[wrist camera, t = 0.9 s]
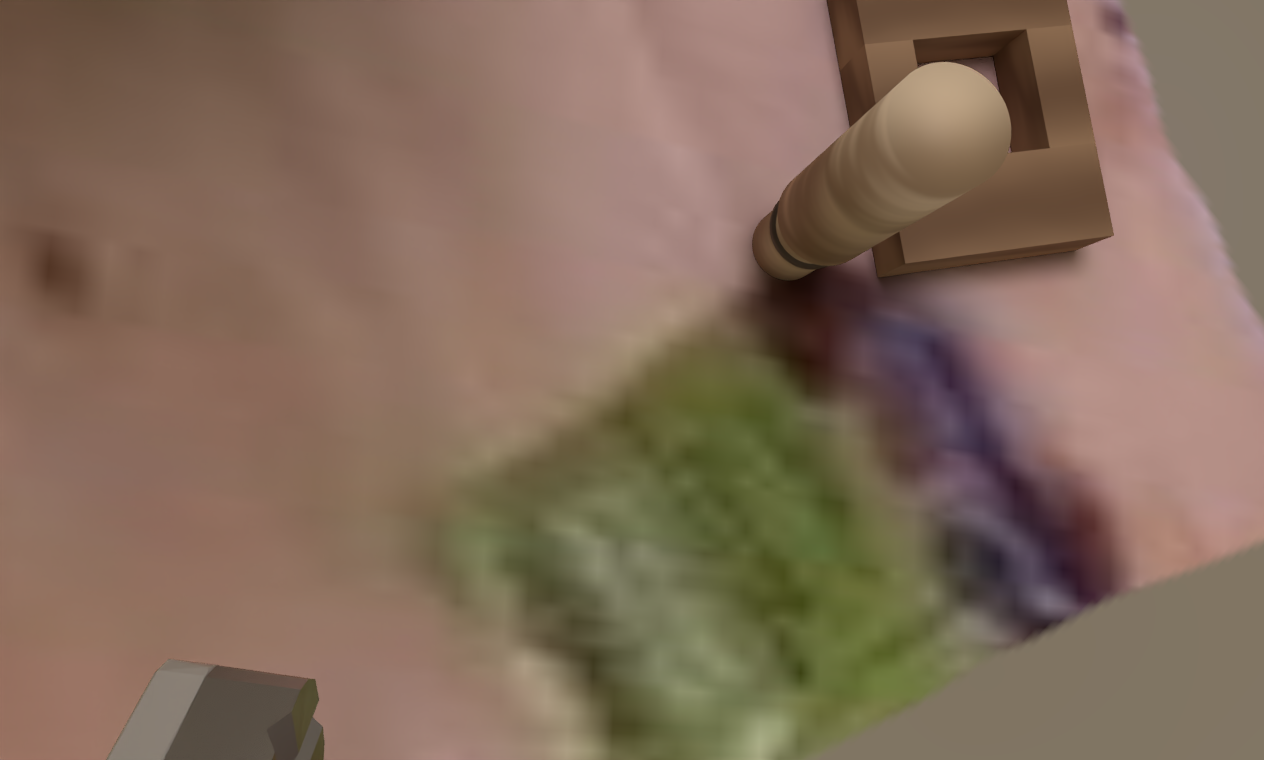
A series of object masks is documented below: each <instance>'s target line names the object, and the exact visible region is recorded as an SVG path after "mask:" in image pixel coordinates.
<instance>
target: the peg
mask: <svg viewBox="0 0 1264 760" xmlns="http://www.w3.org/2000/svg"><path fill="white" fill-rule="evenodd" d="M1010 142H1011V122H1010V117H1009V113H1008V109H1007V107H1006V104H1005V102H1004V100H1003V98H1002V96H1001V95H1000V93H999V92H998V90H997V89H996V88H995V87H994V85H993V84H992V83H991V82H990V81H989V80H988V79H986V78H985V77H984V76H983V75H981V74H980V73H979V72H977V71H975V70H973V69H971V68H969V67H967V66H964V65H961V64H957V63H951V62H936V63H930V64H927V65H924V66H922V67H920V68H918V69H916V70H914V71H913V72H911V73H910V74H909V75H907V76H906V77H905V78H904V79H903V80H902V81H901V82H900V83H899V84H898V85H896V86H895V87H894V88H893V89H892V90H891V91H890V92H889V93H888V94H887V95H885V96H884V97H883V98H882V99H881V100H880V101H879V102H878V103H877V104H876V105H874V106H873V107H872V108H871V109H870V110H869V111H868V112H867V113H866V114H865V115H863V116H862V117H861V118H860V119H859V120H858V121H857V122H856V123H855V124H854V125H852V126H851V127H850V128H849V129H848V130H847V131H846V132H845V133H844V134H843V135H841V136H840V137H839V138H838V139H837V140H836V141H835V142H834V143H833V144H832V145H830V146H829V147H828V148H827V149H826V150H825V151H824V152H823V153H822V154H821V155H819V156H818V157H817V158H816V159H815V160H814V161H813V162H812V163H811V164H810V165H809V166H807V167H806V168H805V169H804V170H803V171H802V172H801V173H800V174H799V175H798V176H796V177H795V178H794V179H793V180H792V181H791V182H790V183H789V184H788V185H787V187H786V188H785V190H784V191H783V193H782V195H781V198H780V200H779V201H778V203H777V204H776V205H775V207H774V209H773V211H771V212H770V213H769V214H768V215H767V216H766V217H765V218H764V219H762V220H761V221H760V223H759V224H758V226H757V227H756V229H755V231H754V235H753V240H752V247H753V253H754V256H755V258H756V260H757V262H758V264H759V265H760V267H761V268H762V269H763V270H764V271H765V272H766V273H768V274H769V275H771V276H772V277H774V278H777V279H780V280H788V281H789V280H797V279H800V278H802V277H804V276H806V275H808V274H809V273H811V272H812V271H814V270H816V269H821V268H824V267H827V266H835V265H839V264H842V263H845V262H847V261H849V260H851V259H853V258H855V257H856V256H858V255H860V254H861V253H863V252H865V251H867V250H868V249H870V248H872V247H873V246H875V245H877V244H879V243H880V242H882V241H884V240H886V239H887V238H889V237H891V236H892V235H894V234H896V233H898V232H899V231H901V230H903V229H904V228H906V227H908V226H910V225H911V224H913V223H915V222H916V221H918V220H920V219H922V218H923V217H925V216H927V215H928V214H930V213H932V212H934V211H935V210H937V209H939V208H940V207H942V206H944V205H946V204H947V203H949V202H951V201H953V200H954V199H956V198H958V197H959V196H961V195H963V194H965V193H966V192H968V191H970V190H971V189H973V188H975V187H977V186H978V185H980V184H982V183H983V182H985V181H986V180H988V179H989V178H991V177H992V176H993V175H994V174H995V173H996V172H997V171H998V169H999V168H1000V167H1001V165H1002V164H1003V162H1004V160H1005V158H1006V156H1007V153H1008V151H1009V147H1010Z"/></svg>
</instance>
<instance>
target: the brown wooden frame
mask: <svg viewBox="0 0 1264 760" xmlns="http://www.w3.org/2000/svg"><path fill="white" fill-rule="evenodd" d="M827 3H828V9H829V14H830V20H831V25H832V31H833V36H834V42H835V47H836V52H837V58H838V63H839V69H840V74H841V80H842V85H843V91H844V96H845V102H846V107H847V112H848V118H849V123H850V127H851V126H852V125H854V124H855V123H856V122H857V121H858V120H859V119H860V118H861V117H862V116H863V115H865V114H866V113H867V112H868V111H869V110H870V109H871V108H872V107H873V106H874V105H876V104H877V103H878V102H879V101H880V100H881V99H882V98H883V97H884V96H885V95H887V94H888V93H889V92H890V91H891V90H892V89H893V88H894V87H895V86H896V85H898V84H899V83H900V82H901V81H902V80H903V79H904V78H905V77H906V76H907V75H909V74H910V73H911V72H913V71H914V70H916V69H918V66H917V63H927V62H937V61H947V60H957V59H967V58H978V57H988V56H993V59H994V64H995V69H996V74H997V79H998V84H999V89H1000V95H1001V96H1002V98H1003V100H1004V102H1005V104H1006V107H1007V109H1008V113H1009V117H1010V122H1011V142H1010V146H1011V151H1012V153H1007V156H1006V158H1005V160H1004V162H1003V164H1002V165H1001V167H1000V168H999V169H998V171H997V172H996V173H995V174H994V175H993V176H992V177H991V178H989V179H988V180H986V181H985V182H983V183H982V184H980V185H978V186H977V187H975V188H973V189H971V190H970V191H968V192H966V193H965V194H963V195H961V196H959V197H958V198H956V199H954V200H953V201H951V202H949V203H947V204H946V205H944V206H942V207H940V208H939V209H937V210H935V211H934V212H932V213H930V214H928V215H927V216H925V217H923V218H922V219H920V220H918V221H916V222H915V223H913V224H911V225H910V226H908V227H906V228H904V229H903V230H901V231H899V232H898V233H896V234H894V235H892V236H891V237H889V238H887V239H886V240H884V241H882V242H880V243H879V244H877V245H875V246H873V247H872V249H873V254H874V260H875V265H876V271H877V276H878V277H885V276H892V275H900V274H907V273H914V272H922V271H929V270H936V269H944V268H951V267H958V266H965V265H973V264H980V263H987V262H995V261H1002V260H1009V259H1016V258H1024V257H1031V256H1038V255H1046V254H1053V253H1060V252H1068V251H1075V250H1078V249H1080V248H1083V247H1085V246H1088V245H1090V244H1093V243H1096V242H1098V241H1101V240H1103V239H1106V238H1108V237H1111V236H1114V233H1113V228H1112V223H1111V218H1110V213H1109V208H1108V203H1107V198H1106V194H1105V189H1104V184H1103V179H1102V174H1101V169H1100V164H1099V159H1098V154H1097V149H1096V144H1095V139H1094V134H1093V129H1092V124H1091V119H1090V114H1089V109H1088V104H1087V99H1086V94H1085V89H1084V84H1083V79H1082V74H1081V69H1080V64H1079V59H1078V55H1077V50H1076V45H1075V40H1074V35H1073V30H1072V25H1071V20H1070V15H1069V10H1068V5H1067V0H827Z"/></svg>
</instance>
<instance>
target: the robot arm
mask: <svg viewBox="0 0 1264 760" xmlns="http://www.w3.org/2000/svg"><path fill="white" fill-rule="evenodd" d="M318 701H319V697H318V691H317V686H316V681H315V679H310V678H302V677H295V676H288V675H281V674H274V673H267V672H260V671H253V670H246V669H239V668H232V667H225V666H219V665H213V664H205V663H197V662H189V661H181V660H173V659H168V660H167V661H166V662H165V663H164V664H163V665H162V666H161V667H160V668H159V669H158V670H157V671H156V672H155V673H154V675H153V677H152V678H151V680H150V682H149V684H148V686H147V687H146V689H145V691H144V693H143V694H142V696H141V698H140V700H139V702H138V703H137V705H136V707H135V709H134V711H133V712H132V714H131V716H130V718H129V720H128V721H127V723H126V725H125V727H124V728H123V730H122V732H121V734H120V736H119V737H118V739H117V741H116V743H115V745H114V746H113V748H112V750H111V752H110V753H109V755H108V757H107V759H106V760H323V759H324V734H323V727H322V726H321V725H320V724H319V723H318V722H317V721H316V720H315V719H314V718H313V714H314V712H315V709H316V706H317V704H318Z"/></svg>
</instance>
